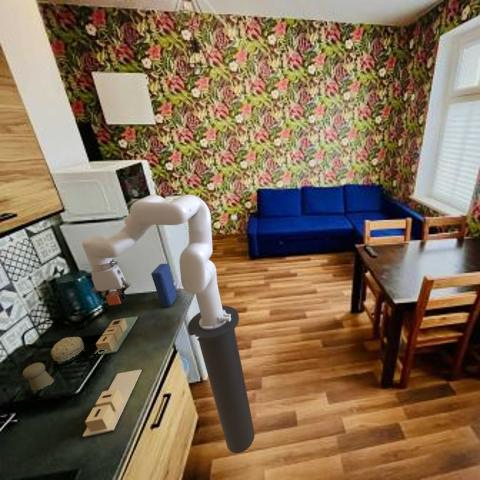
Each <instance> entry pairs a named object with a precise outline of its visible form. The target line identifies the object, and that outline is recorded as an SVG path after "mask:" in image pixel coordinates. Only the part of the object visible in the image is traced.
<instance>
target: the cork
mask: <svg viewBox="0 0 480 480" xmlns="http://www.w3.org/2000/svg"><path fill="white" fill-rule="evenodd" d="M22 377H23V378H25V379H26V380H28V383H29V386H30V389H31V391H32V390H34V391H36V390H40V389H43V388H44V387H46V386H48V385H51V384H52V383H53V382H54V380H55V379H54V378H53V377H52V376H51V375H50V374H49V373H48V372H47V371H46V365H45V364H44V363H43V362H35V363H32V364H29V365H28V366H27V367H25V368H24V369H23V370H22Z"/></svg>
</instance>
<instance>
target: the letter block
mask: <svg viewBox="0 0 480 480" xmlns="http://www.w3.org/2000/svg"><path fill="white" fill-rule="evenodd" d="M108 293H109V294H108V295H107V296H106V299H107V301H108V303H107V305H109V306H114V305H115V306H116V305H121V304H122V302H121V301H120V298H119V293H118V291H117V290H116V289H115V290H109V292H108ZM107 301H106V302H107Z"/></svg>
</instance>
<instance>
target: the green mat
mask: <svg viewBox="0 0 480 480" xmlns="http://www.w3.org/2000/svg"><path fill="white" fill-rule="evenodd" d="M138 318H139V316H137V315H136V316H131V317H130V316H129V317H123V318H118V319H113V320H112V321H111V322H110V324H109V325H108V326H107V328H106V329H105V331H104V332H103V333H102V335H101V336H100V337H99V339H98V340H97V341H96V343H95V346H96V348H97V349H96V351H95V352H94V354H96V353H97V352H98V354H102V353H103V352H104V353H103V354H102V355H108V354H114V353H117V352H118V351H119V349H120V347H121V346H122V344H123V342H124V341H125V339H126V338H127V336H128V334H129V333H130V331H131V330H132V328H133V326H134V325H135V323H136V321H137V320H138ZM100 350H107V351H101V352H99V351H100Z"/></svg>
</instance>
